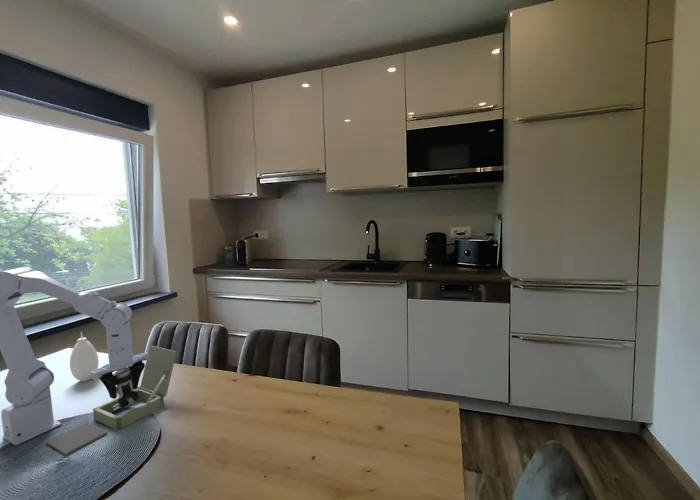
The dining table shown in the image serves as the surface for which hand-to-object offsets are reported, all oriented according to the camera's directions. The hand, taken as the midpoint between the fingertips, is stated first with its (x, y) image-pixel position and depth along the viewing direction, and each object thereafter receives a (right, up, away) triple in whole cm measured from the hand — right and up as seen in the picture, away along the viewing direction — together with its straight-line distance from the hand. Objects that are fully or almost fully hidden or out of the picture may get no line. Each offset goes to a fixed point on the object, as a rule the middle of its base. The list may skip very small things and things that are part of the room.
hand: (124, 392), depth 96 cm
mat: (-5, -8, -10) cm, 14 cm away
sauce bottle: (-29, -6, +23) cm, 37 cm away
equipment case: (+2, -6, +4) cm, 7 cm away
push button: (0, -4, 0) cm, 4 cm away
